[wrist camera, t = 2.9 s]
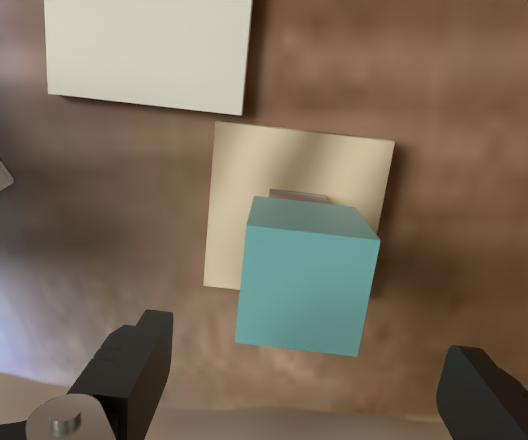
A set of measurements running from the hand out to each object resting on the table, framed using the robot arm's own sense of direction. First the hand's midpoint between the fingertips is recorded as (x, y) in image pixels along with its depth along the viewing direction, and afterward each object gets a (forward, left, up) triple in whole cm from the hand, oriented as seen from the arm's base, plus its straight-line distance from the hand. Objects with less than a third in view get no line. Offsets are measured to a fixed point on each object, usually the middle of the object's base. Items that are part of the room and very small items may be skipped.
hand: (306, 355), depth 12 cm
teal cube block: (0, 0, -9) cm, 9 cm away
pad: (+10, -12, -16) cm, 23 cm away
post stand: (0, 0, -16) cm, 16 cm away
